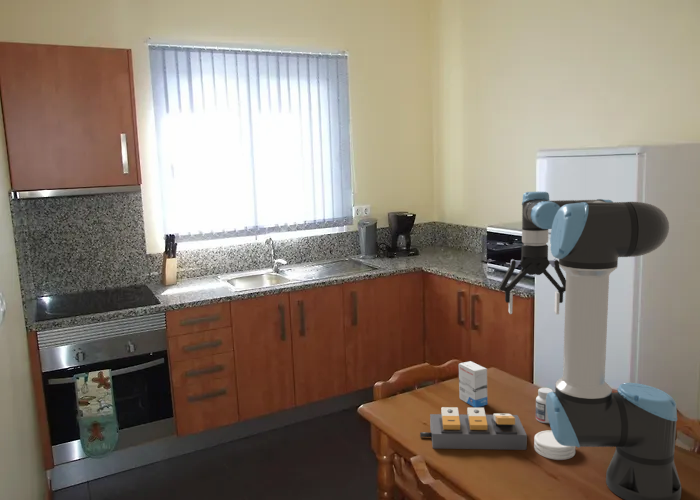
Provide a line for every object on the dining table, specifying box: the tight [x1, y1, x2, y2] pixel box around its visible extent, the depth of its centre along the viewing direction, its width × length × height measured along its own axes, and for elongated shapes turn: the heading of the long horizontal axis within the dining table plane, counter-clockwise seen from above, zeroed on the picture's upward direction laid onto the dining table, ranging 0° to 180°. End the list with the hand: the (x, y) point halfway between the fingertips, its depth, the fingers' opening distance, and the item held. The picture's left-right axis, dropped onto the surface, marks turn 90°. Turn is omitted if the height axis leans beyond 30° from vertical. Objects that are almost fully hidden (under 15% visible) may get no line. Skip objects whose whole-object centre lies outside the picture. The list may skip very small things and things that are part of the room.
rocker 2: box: [466, 407, 488, 430], centre depth 154 cm, size 7×4×2 cm, turn 175°
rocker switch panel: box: [419, 413, 528, 451], centre depth 156 cm, size 12×27×5 cm, turn 85°
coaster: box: [533, 430, 576, 461], centre depth 149 cm, size 10×10×4 cm
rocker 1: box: [440, 406, 460, 430], centre depth 155 cm, size 7×4×2 cm, turn 175°
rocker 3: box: [492, 413, 515, 425], centre depth 154 cm, size 7×4×2 cm, turn 175°
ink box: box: [458, 360, 488, 408], centre depth 179 cm, size 9×5×12 cm, turn 25°
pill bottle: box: [535, 387, 554, 424], centre depth 166 cm, size 5×5×9 cm
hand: (533, 313), depth 176 cm, fingers open, 13 cm apart
